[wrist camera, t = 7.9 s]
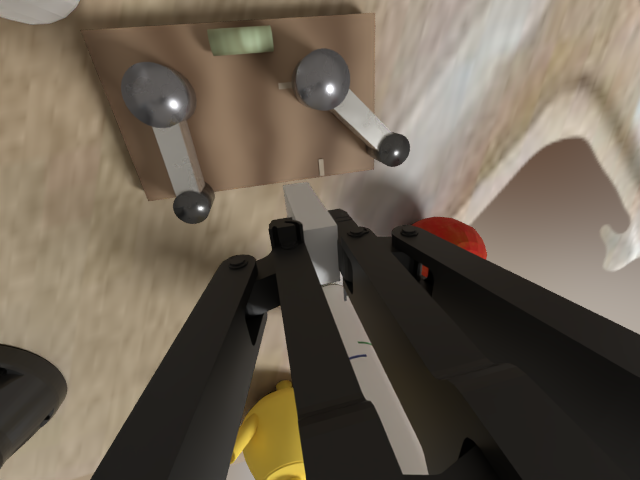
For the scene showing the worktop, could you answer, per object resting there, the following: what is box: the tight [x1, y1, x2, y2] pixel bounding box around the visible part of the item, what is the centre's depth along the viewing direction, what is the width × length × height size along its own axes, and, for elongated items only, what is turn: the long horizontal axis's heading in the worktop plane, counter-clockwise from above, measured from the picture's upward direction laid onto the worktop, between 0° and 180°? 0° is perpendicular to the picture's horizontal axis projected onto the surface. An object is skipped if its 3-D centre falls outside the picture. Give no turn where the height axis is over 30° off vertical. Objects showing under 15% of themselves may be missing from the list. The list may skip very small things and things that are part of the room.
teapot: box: [230, 380, 306, 480], centre depth 43 cm, size 20×16×14 cm
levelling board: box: [80, 13, 375, 201], centre depth 27 cm, size 24×14×4 cm, turn 94°
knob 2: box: [292, 48, 410, 167], centre depth 26 cm, size 13×4×4 cm, turn 50°
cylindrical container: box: [322, 285, 429, 475], centre depth 31 cm, size 7×7×25 cm
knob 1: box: [121, 62, 215, 224], centre depth 25 cm, size 13×4×4 cm, turn 4°
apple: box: [411, 217, 487, 277], centre depth 34 cm, size 9×8×11 cm
